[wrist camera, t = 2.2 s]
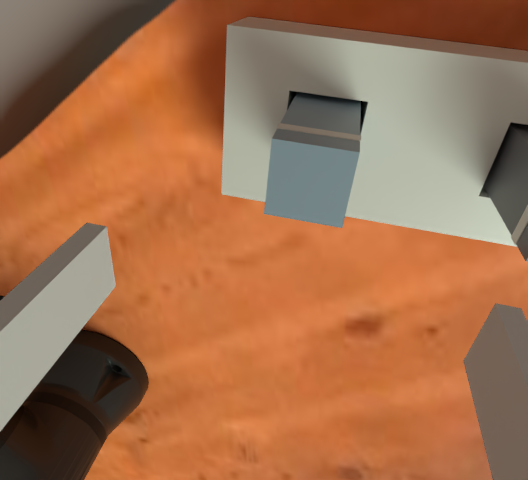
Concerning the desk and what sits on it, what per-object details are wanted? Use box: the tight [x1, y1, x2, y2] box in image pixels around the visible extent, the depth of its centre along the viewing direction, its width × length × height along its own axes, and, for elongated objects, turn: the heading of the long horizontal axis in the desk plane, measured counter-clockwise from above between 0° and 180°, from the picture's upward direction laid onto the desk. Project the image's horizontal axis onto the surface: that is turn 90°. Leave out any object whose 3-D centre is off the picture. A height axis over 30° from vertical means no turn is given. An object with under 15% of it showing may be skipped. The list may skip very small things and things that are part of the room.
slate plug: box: [264, 92, 361, 228], centre depth 27 cm, size 4×4×14 cm
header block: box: [221, 17, 528, 247], centre depth 30 cm, size 28×12×6 cm, turn 85°
